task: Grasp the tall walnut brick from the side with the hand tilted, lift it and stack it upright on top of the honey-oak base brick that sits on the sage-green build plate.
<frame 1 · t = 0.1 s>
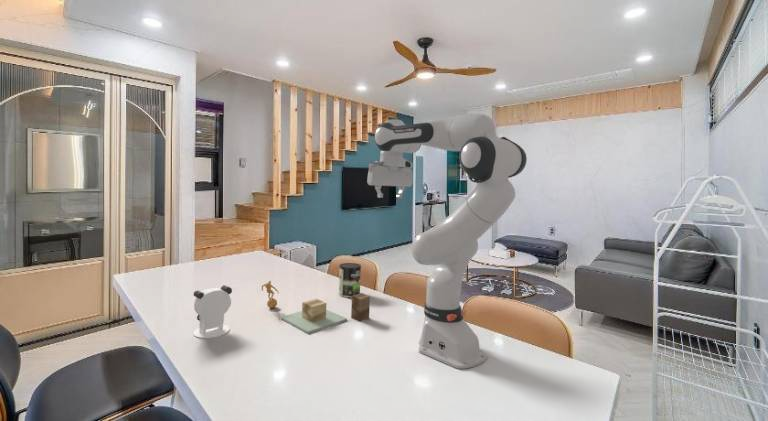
hand: (389, 197, 139), 48 cm above the table, tool pointing down, fingers open, 8 cm apart
panda figurine: (212, 331, 123), on the table
build plate: (314, 319, 136), on the table
figurine: (270, 309, 146), on the table
coffee can: (349, 294, 169), on the table
base brick: (314, 317, 136), point 1 cm above the table, touching build plate
walnut brick: (360, 318, 139), on the table
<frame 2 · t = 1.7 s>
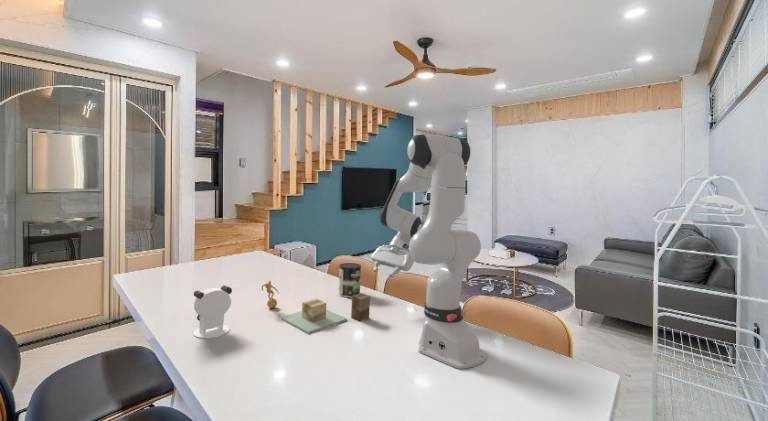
hand: (382, 273, 147), 16 cm above the table, tool tilted 45°, fingers open, 8 cm apart
nothing on the table moved.
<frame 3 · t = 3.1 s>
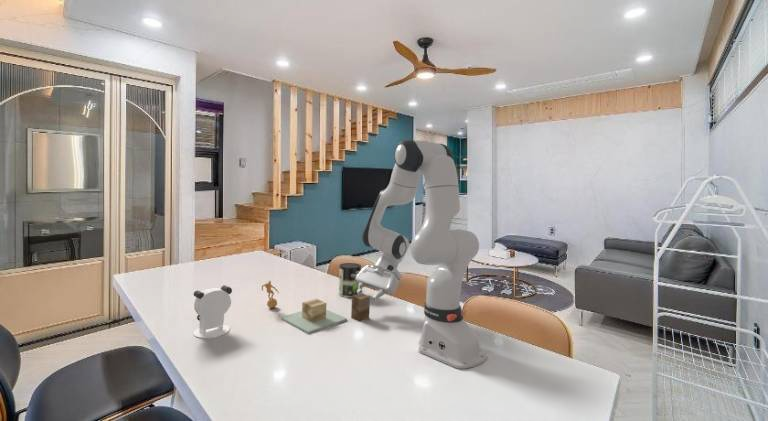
hand: (366, 296, 141), 8 cm above the table, tool tilted 45°, fingers open, 8 cm apart
nothing on the table moved.
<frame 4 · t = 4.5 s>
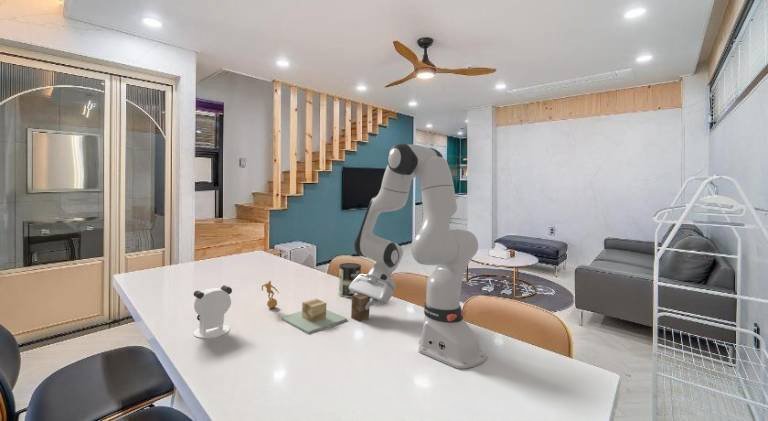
hand: (359, 306, 138), 5 cm above the table, tool tilted 45°, fingers closed on walnut brick, 5 cm apart
walnut brick: (360, 318, 139), on the table, touching gripper
everything else where it was.
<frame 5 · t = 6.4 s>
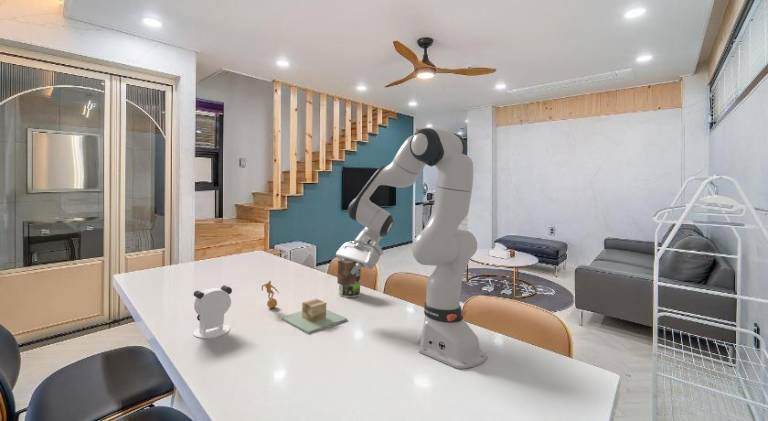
hand: (345, 271, 137), 19 cm above the table, tool tilted 45°, fingers closed on walnut brick, 5 cm apart
walnut brick: (346, 283, 138), point 14 cm above the table, touching gripper
everything else where it was.
when the fingers open (13 cm above the table, at t = 8.7 s): walnut brick drops 2 cm, resting on base brick.
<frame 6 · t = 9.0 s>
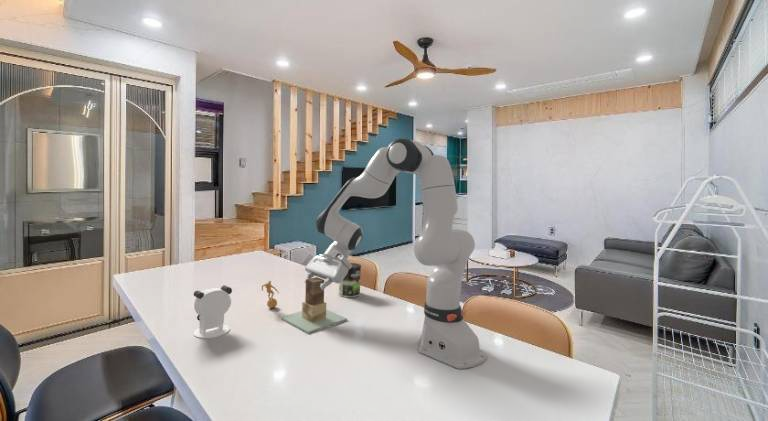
hand: (313, 286, 134), 13 cm above the table, tool tilted 45°, fingers open, 8 cm apart
base brick: (314, 317, 136), point 1 cm above the table, touching build plate, walnut brick
walnut brick: (314, 302, 135), point 7 cm above the table, touching base brick
everything else where it was.
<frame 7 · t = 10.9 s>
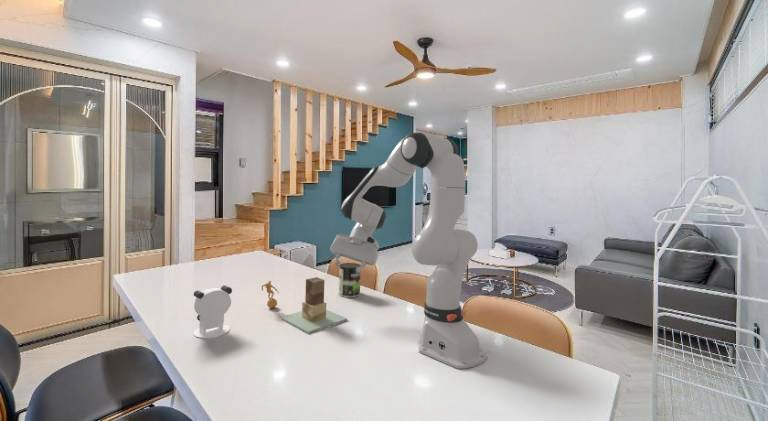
hand: (346, 268, 143), 18 cm above the table, tool tilted 35°, fingers open, 8 cm apart
nothing on the table moved.
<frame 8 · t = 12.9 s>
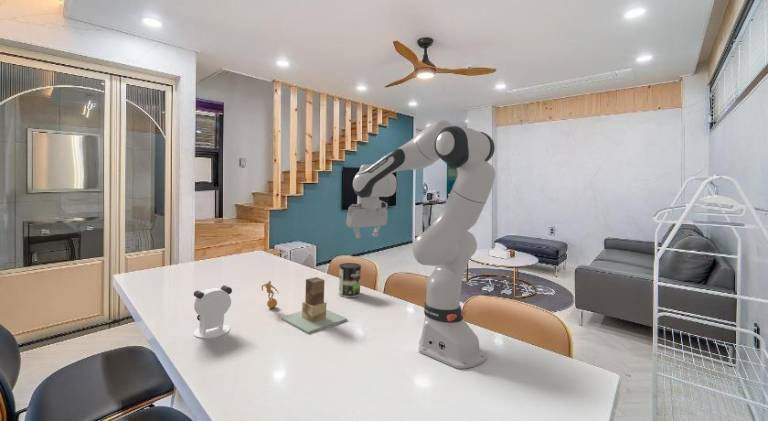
hand: (366, 237, 145), 31 cm above the table, tool pointing down, fingers open, 8 cm apart
nothing on the table moved.
at the end: walnut brick 0.1 cm off-centre on the base brick, point 6.0 cm above the base brick's base; walnut brick tilted 0°; the gripper is holding nothing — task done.
